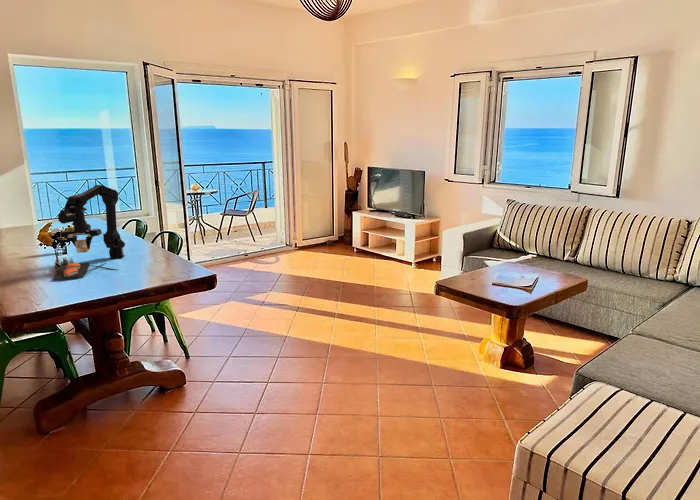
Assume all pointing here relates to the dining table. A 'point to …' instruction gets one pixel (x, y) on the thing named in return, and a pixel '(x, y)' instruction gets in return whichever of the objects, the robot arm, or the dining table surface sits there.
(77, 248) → the birch block
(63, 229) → the beer glass
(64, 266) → the sushi plate
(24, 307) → the dining table surface
